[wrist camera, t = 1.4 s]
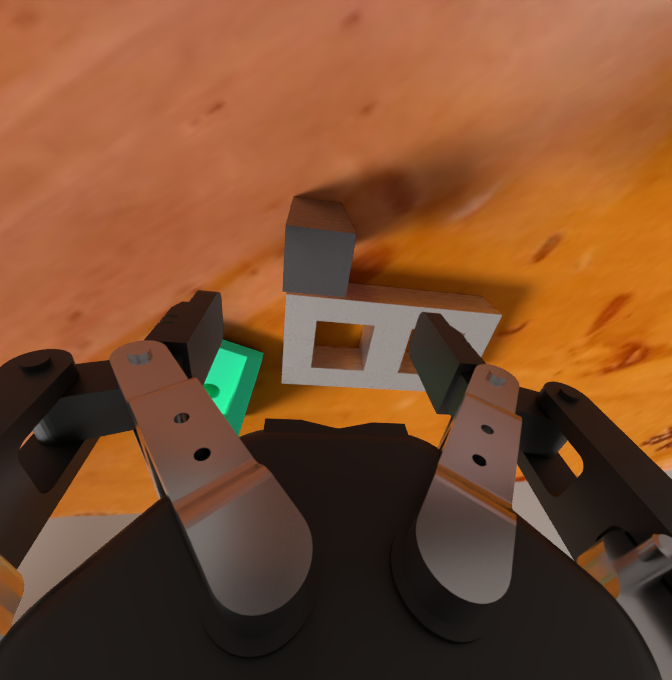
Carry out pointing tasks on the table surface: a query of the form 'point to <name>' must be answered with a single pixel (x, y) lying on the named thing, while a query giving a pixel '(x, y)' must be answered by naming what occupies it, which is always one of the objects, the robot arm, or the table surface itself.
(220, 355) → the camera mount
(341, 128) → the table surface
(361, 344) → the rail
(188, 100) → the table surface
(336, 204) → the peg
